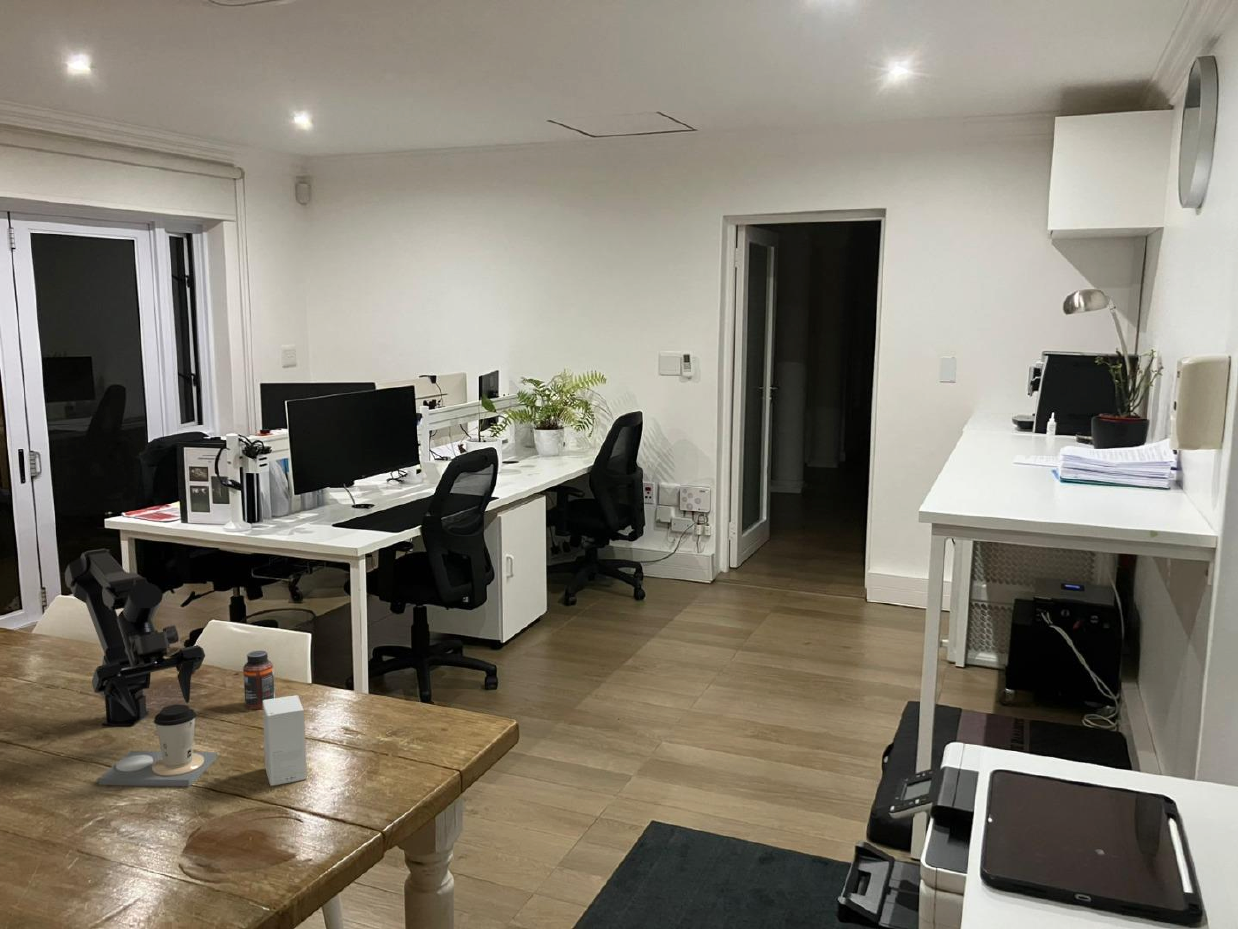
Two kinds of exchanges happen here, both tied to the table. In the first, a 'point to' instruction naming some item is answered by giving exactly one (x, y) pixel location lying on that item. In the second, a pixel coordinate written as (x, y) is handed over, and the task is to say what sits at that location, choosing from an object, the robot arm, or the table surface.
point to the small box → (284, 740)
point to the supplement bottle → (258, 679)
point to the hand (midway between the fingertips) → (162, 708)
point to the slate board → (155, 770)
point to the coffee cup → (176, 734)
